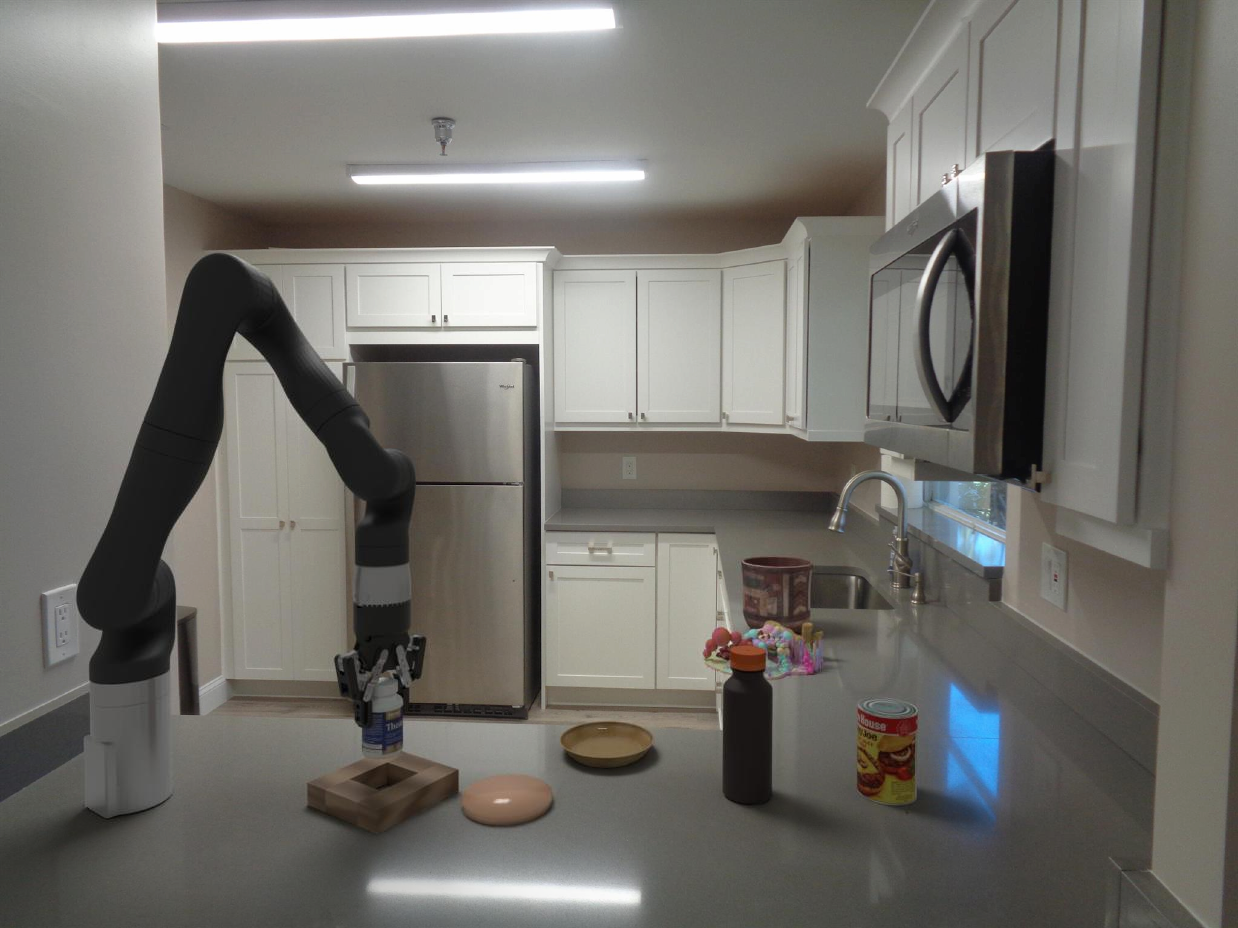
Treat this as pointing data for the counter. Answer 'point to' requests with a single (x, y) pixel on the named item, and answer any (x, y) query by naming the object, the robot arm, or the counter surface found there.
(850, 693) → the counter surface
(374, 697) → the pill bottle
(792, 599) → the pottery
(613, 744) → the plant saucer
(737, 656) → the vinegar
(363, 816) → the block
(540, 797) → the salmon pink disc
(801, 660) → the candy landscape model
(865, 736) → the canned food
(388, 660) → the robot arm
